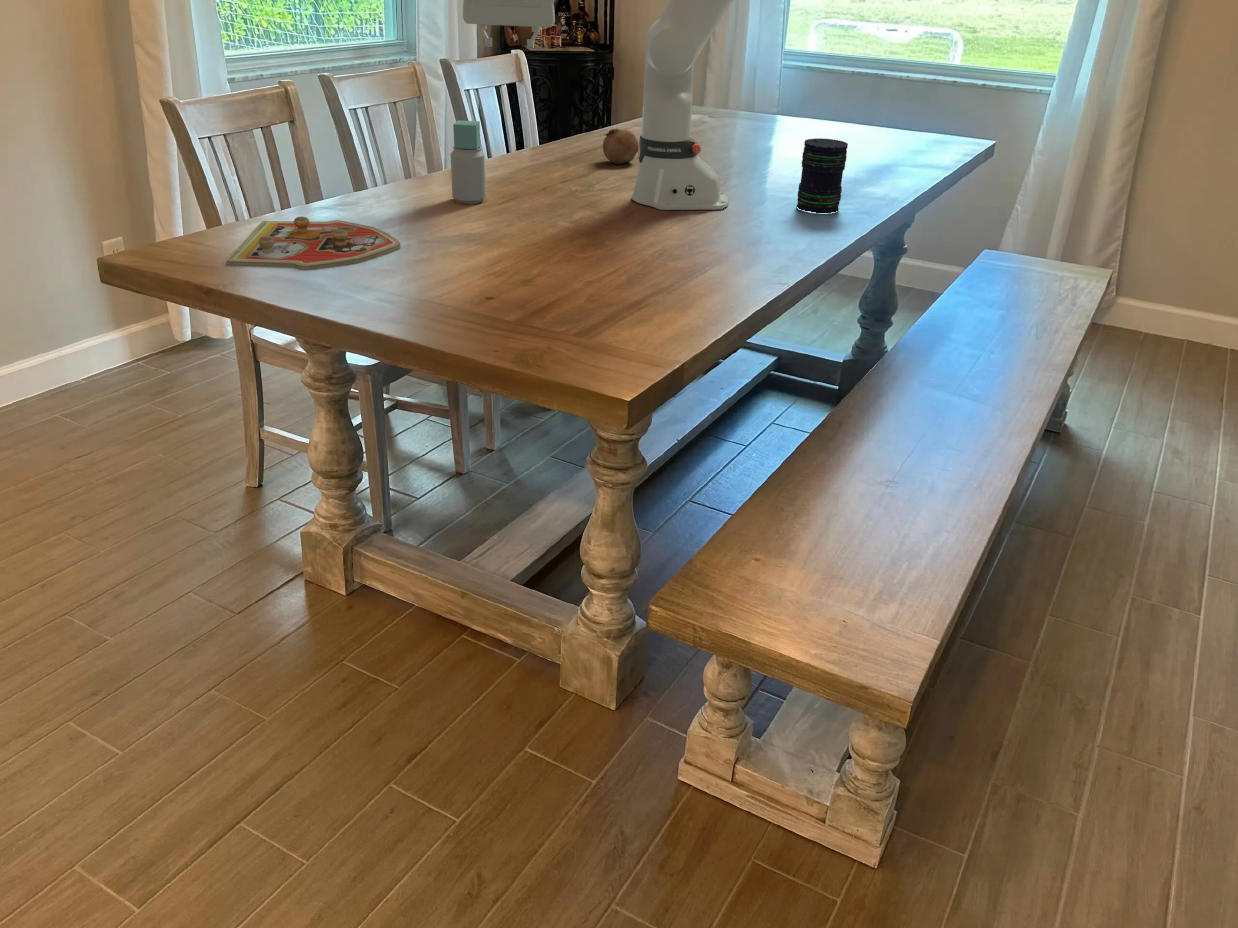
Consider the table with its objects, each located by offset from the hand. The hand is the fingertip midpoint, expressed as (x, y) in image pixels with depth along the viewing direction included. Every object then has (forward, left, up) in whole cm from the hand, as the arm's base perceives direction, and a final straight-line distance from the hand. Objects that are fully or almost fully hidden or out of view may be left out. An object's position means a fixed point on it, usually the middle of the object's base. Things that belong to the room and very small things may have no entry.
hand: (509, 47), depth 223 cm
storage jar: (-72, +8, -31) cm, 79 cm away
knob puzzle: (+30, +53, -32) cm, 69 cm away
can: (+8, +14, -31) cm, 35 cm away
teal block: (+8, +14, -19) cm, 25 cm away
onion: (-25, -32, -31) cm, 51 cm away
